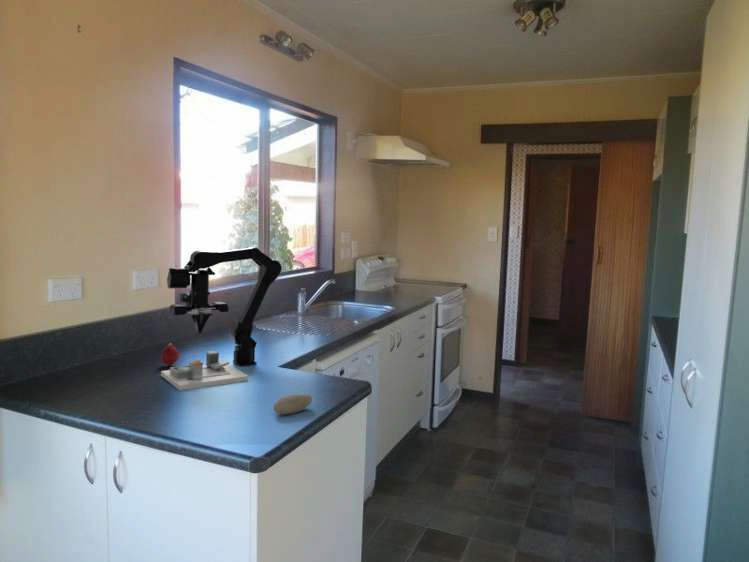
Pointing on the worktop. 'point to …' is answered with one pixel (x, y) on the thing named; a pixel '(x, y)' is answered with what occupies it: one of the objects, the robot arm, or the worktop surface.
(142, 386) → the worktop surface
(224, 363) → the rocker grey
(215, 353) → the slider grey
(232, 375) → the panel
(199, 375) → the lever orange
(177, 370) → the button green
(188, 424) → the worktop surface
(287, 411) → the stone
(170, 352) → the onion
